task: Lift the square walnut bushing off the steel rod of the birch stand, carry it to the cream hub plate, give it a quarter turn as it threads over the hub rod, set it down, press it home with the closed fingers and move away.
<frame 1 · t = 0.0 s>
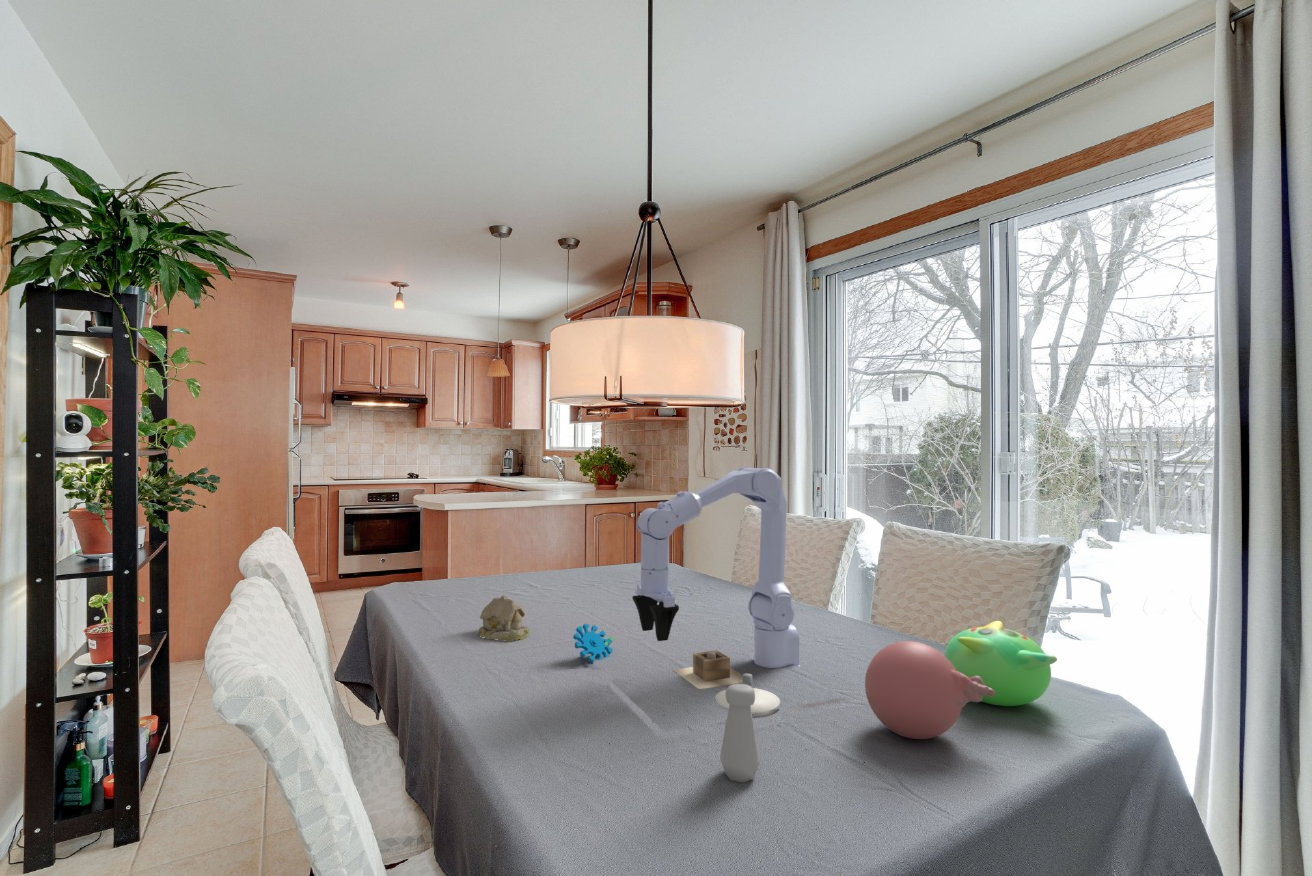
hand: (654, 635, 132), 10 cm above the table, tool pointing down, fingers open, 7 cm apart
walnut bushing: (711, 675, 135), point 1 cm above the table, touching birch stand
salt shaker: (740, 776, 96), on the table
cream hub plate: (747, 704, 122), on the table
gear: (594, 660, 147), on the table
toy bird: (996, 703, 123), on the table
balloon: (927, 739, 108), on the table
ceramic model: (504, 635, 167), on the table
birch stand: (711, 679, 135), on the table
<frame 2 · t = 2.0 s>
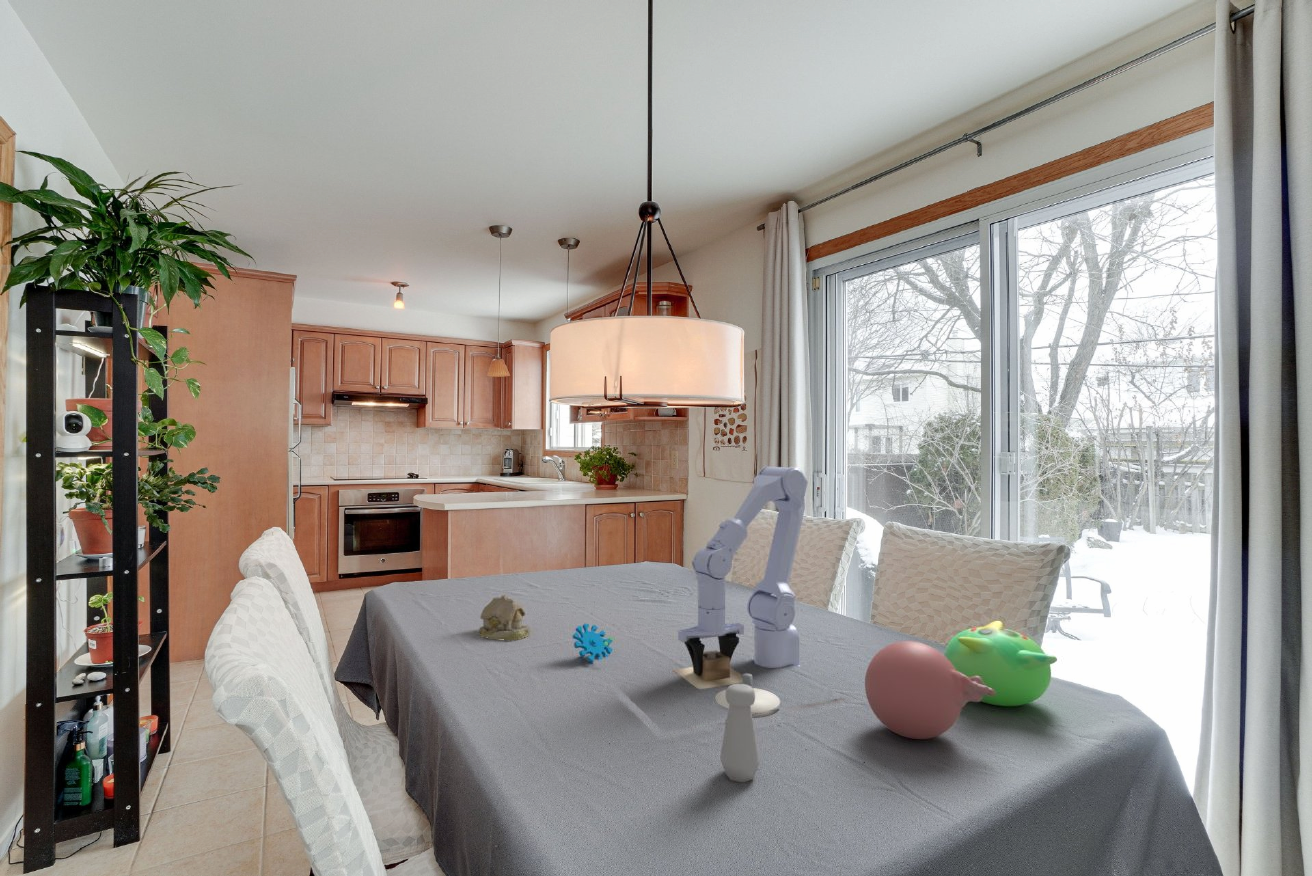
hand: (711, 672, 135), 2 cm above the table, tool pointing down, fingers closed on walnut bushing, 6 cm apart
walnut bushing: (711, 675, 135), point 1 cm above the table, touching birch stand, gripper
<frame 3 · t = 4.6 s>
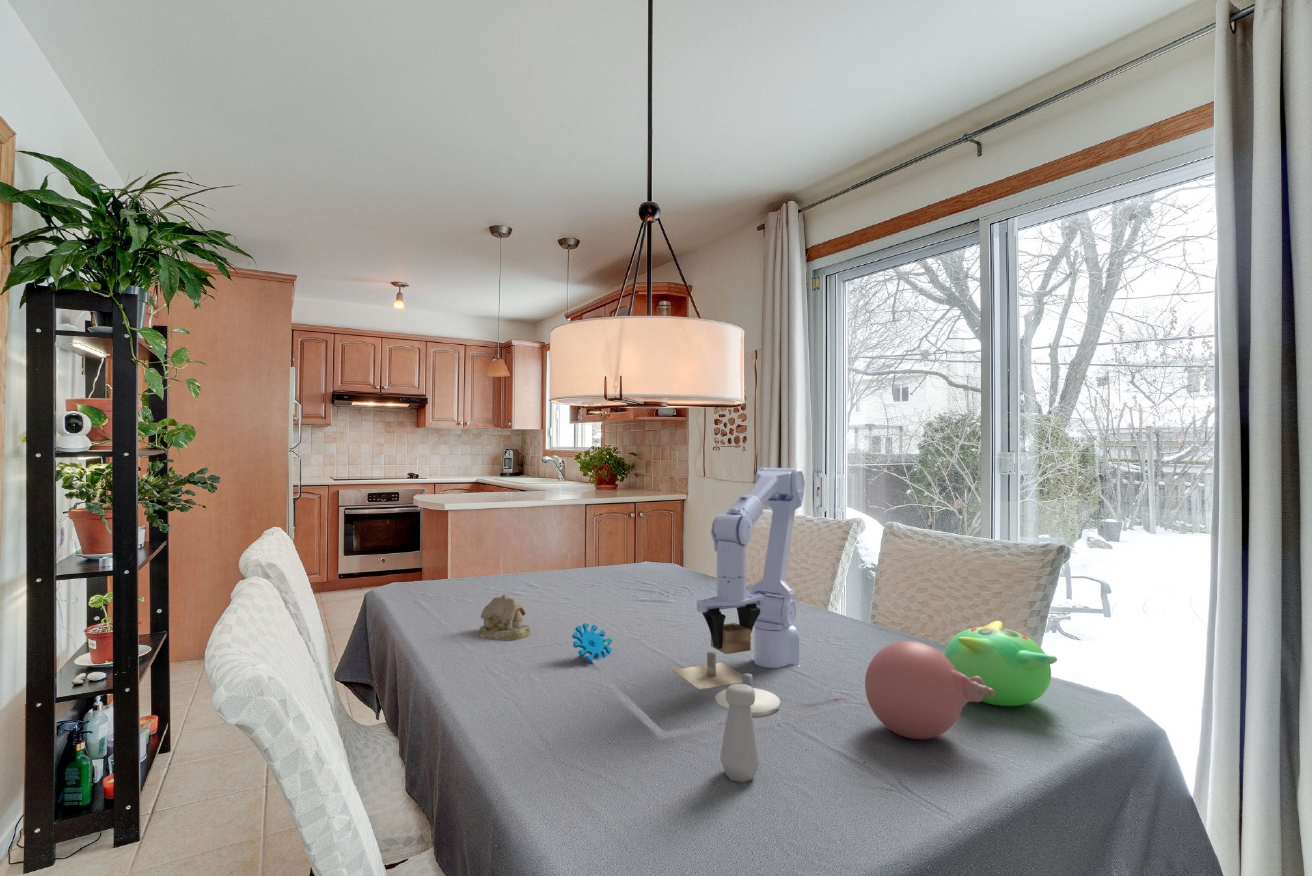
hand: (731, 645, 127), 9 cm above the table, tool pointing down, fingers closed on walnut bushing, 6 cm apart
walnut bushing: (730, 648, 127), point 9 cm above the table, touching gripper
when the fingers open (3 cm above the table, at t = 7.5 s): walnut bushing stays where it is, resting on cream hub plate.
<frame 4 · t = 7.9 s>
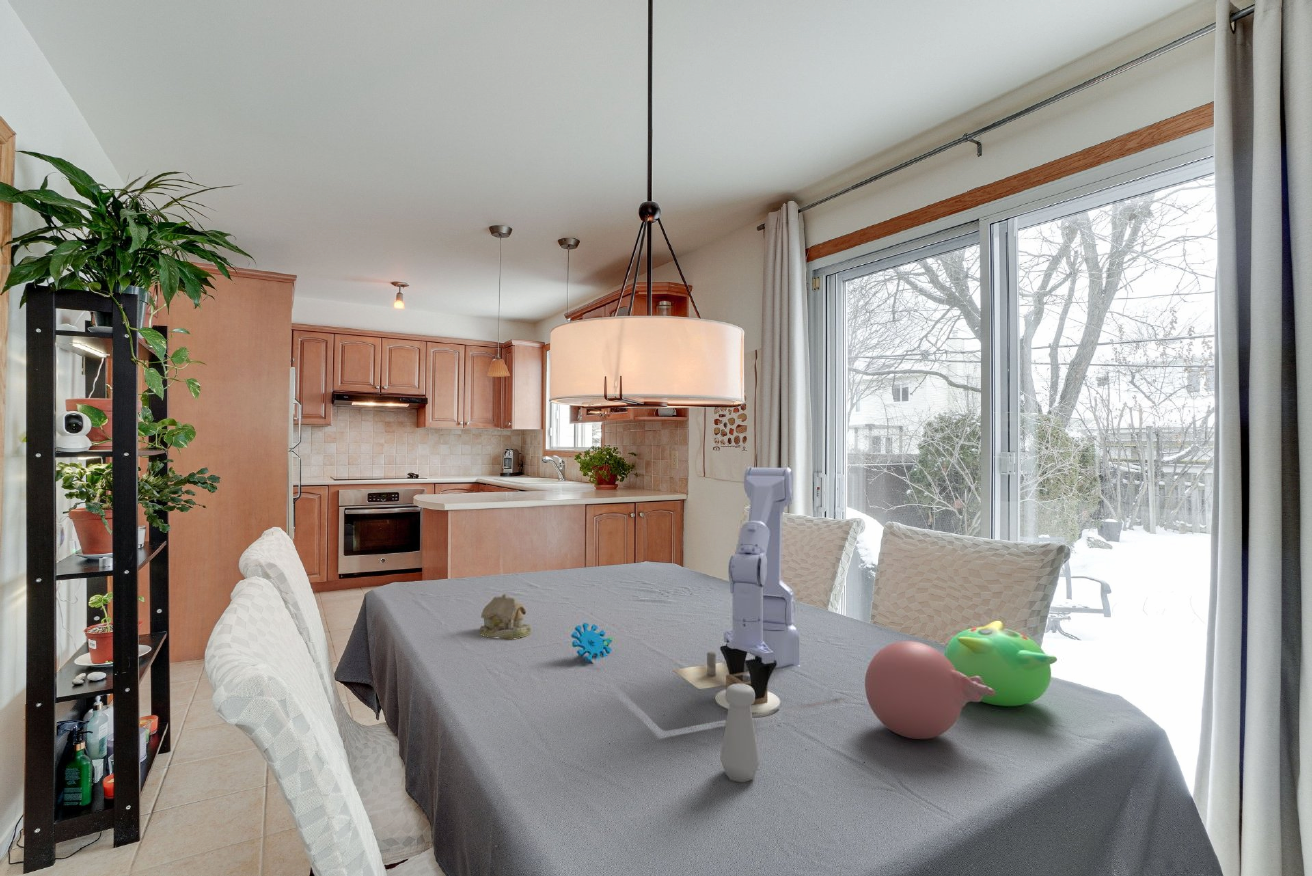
hand: (747, 690, 122), 3 cm above the table, tool pointing down, fingers open, 7 cm apart
walnut bushing: (746, 699, 122), point 1 cm above the table, touching cream hub plate
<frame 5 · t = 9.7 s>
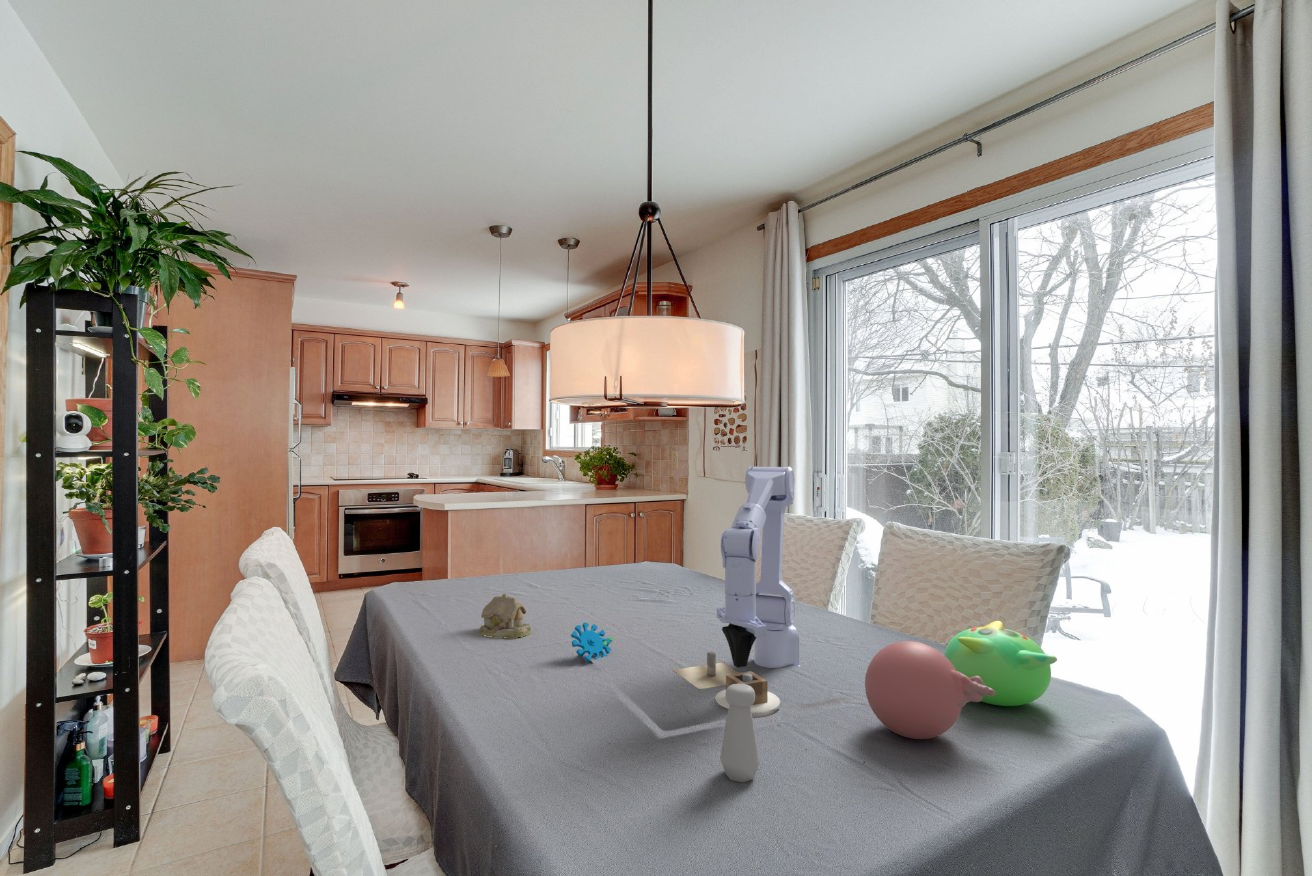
hand: (740, 665, 121), 7 cm above the table, tool pointing down, fingers closed
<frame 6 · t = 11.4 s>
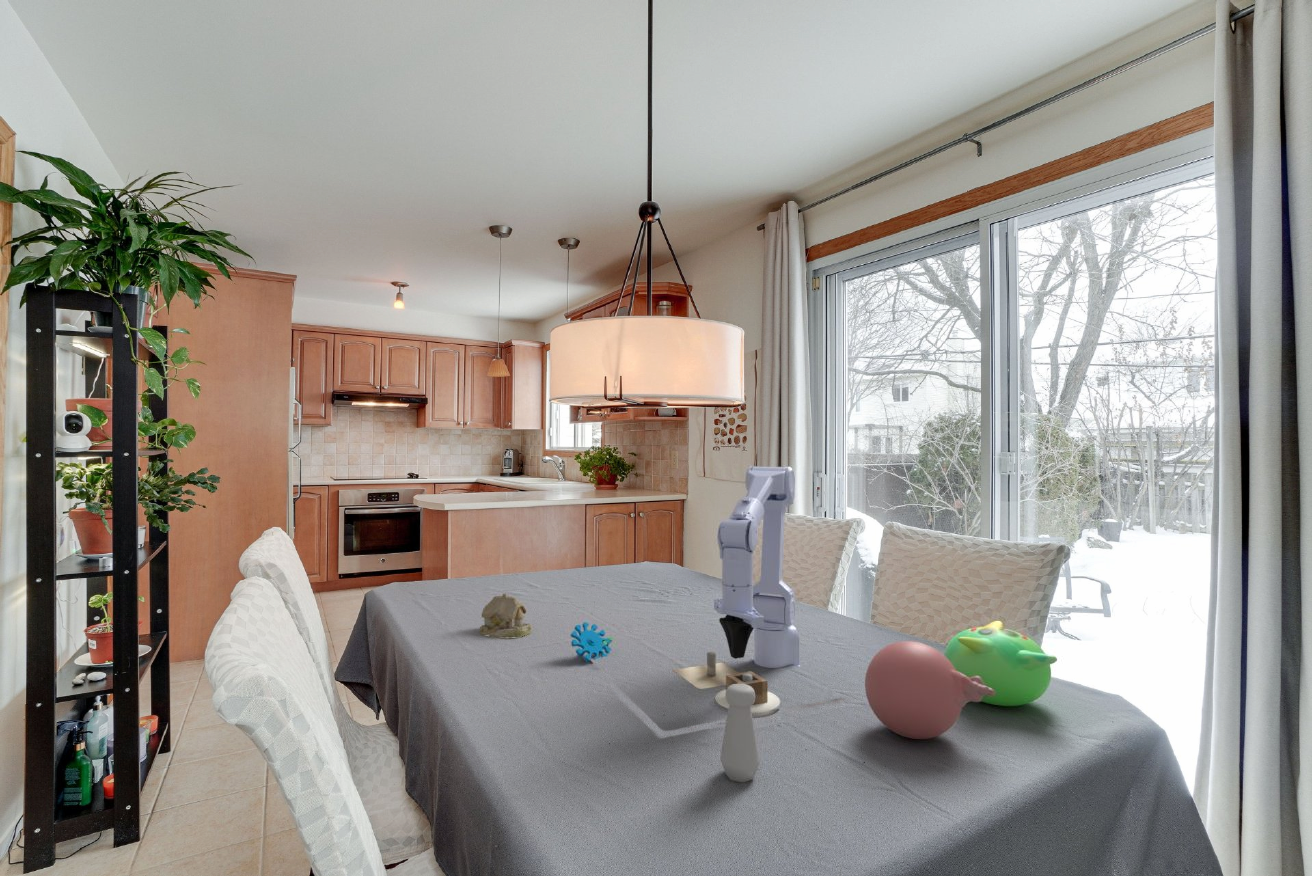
hand: (737, 657, 121), 9 cm above the table, tool pointing down, fingers closed
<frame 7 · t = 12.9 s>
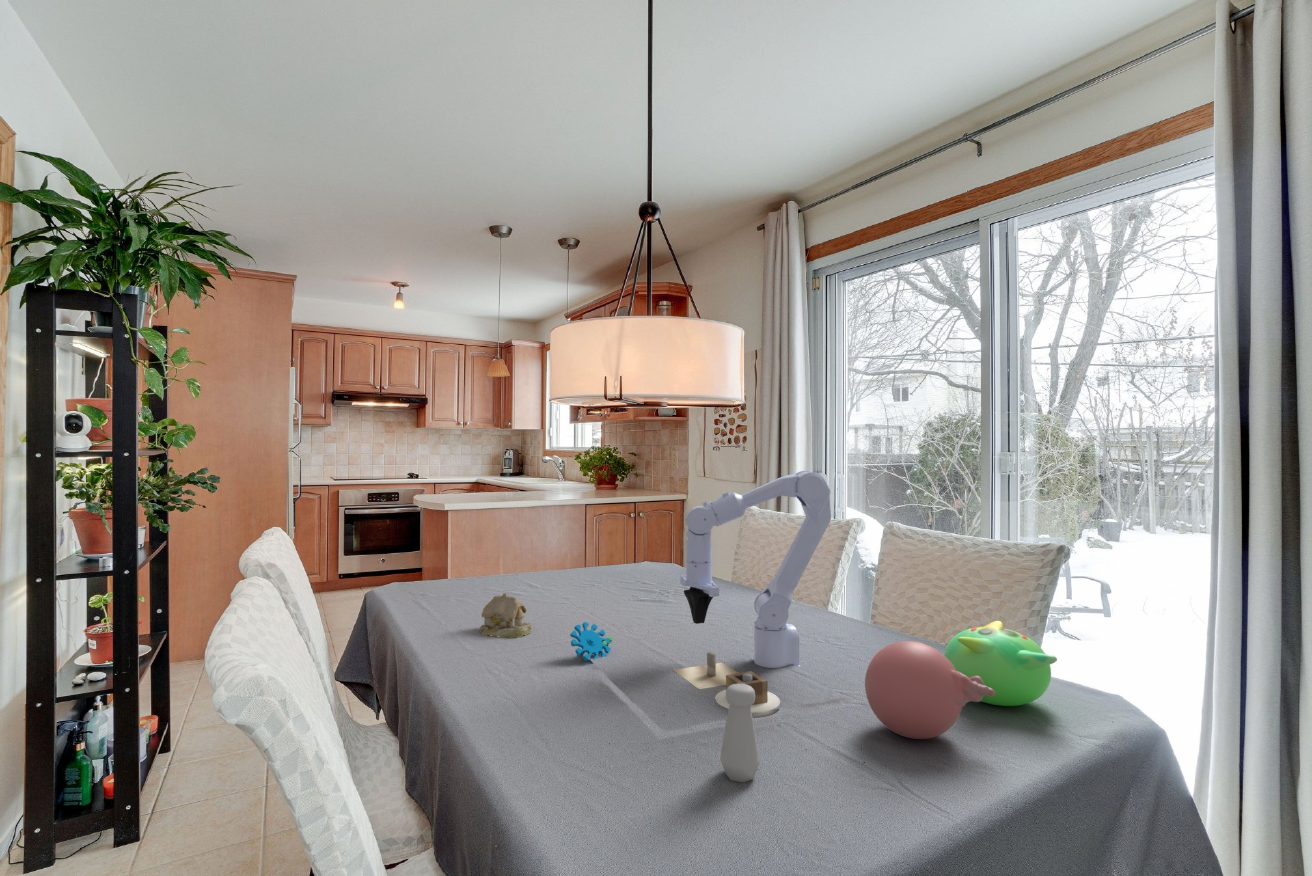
hand: (698, 622, 144), 9 cm above the table, tool pointing down, fingers closed
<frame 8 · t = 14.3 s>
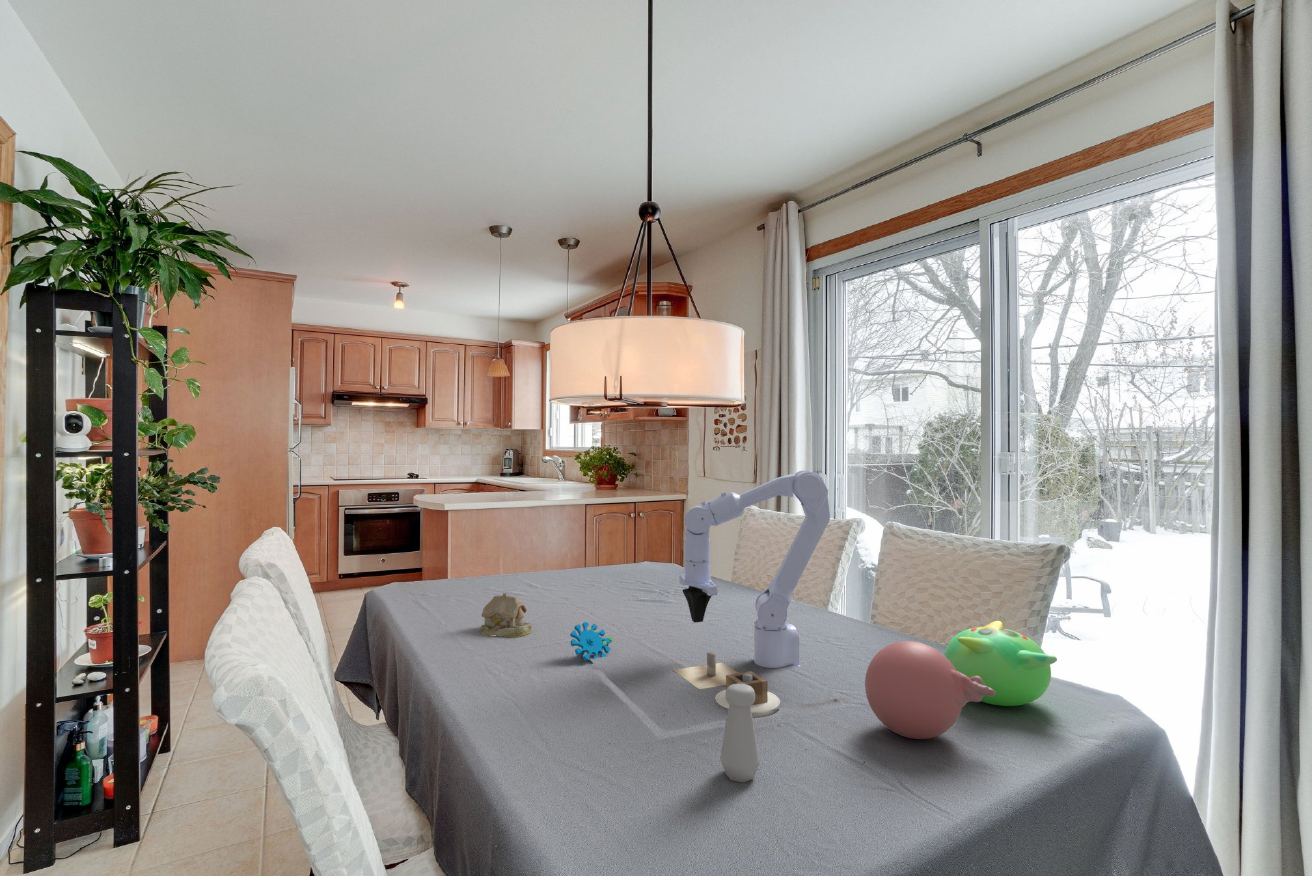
hand: (697, 621, 145), 9 cm above the table, tool pointing down, fingers closed
at the end: walnut bushing 0.2 cm off-centre on the cream hub plate, point 1.0 cm above the cream hub plate's base; walnut bushing tilted 0°; the gripper is holding nothing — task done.
